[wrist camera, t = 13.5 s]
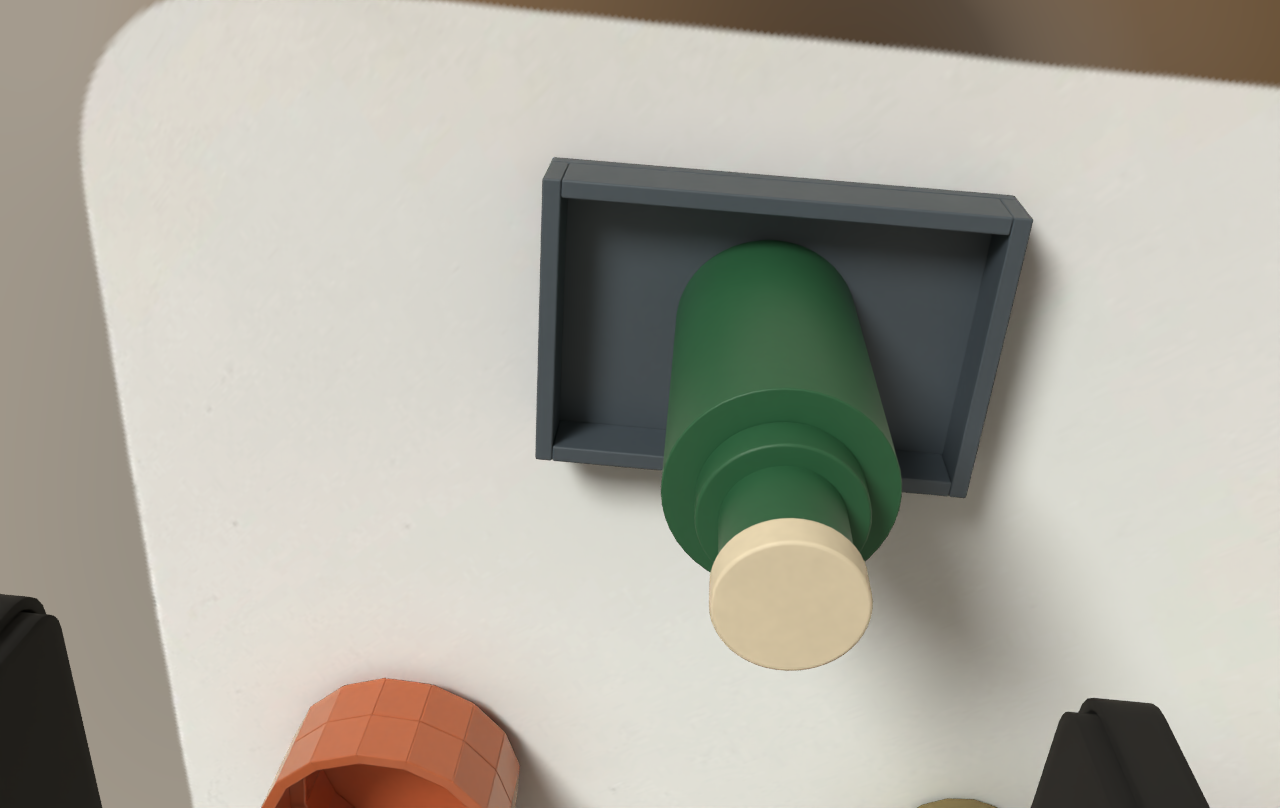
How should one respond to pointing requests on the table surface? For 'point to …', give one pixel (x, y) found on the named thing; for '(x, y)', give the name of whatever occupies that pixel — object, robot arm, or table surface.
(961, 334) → the tray
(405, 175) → the table surface
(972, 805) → the squeeze bottle
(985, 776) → the table surface
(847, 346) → the bottle
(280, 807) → the bowl
